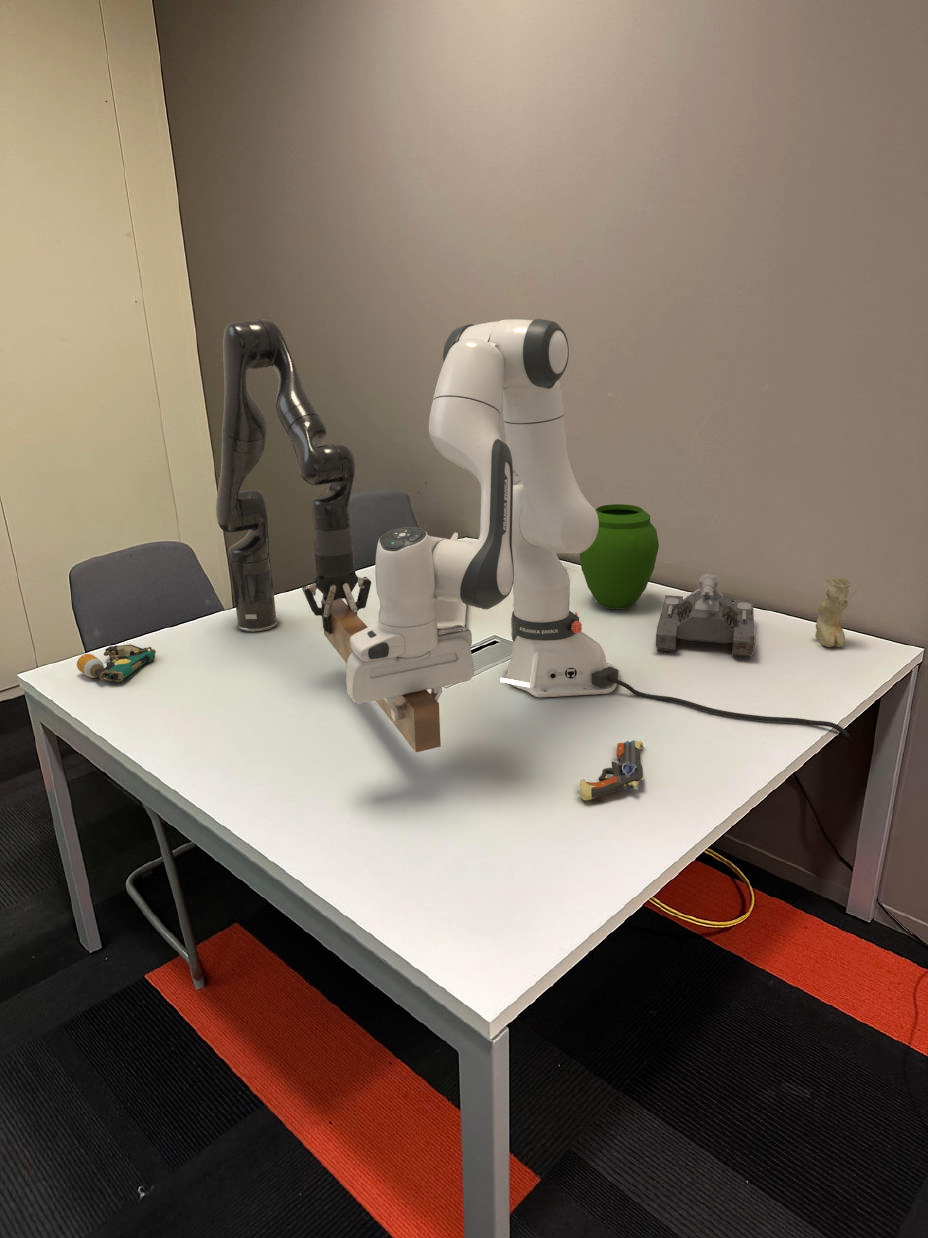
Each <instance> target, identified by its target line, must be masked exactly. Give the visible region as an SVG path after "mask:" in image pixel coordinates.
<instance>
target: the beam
mask: <svg viewBox="0 0 928 1238" xmlns="http://www.w3.org/2000/svg"><path fill="white" fill-rule="evenodd" d="M320 603H321V605H320V607H321V606H322V600H321V601H320ZM329 616H330V617H331V626H332V634H328V633H327V632H325V630H324V629H323V635H324V637H325V639H327V640H328V642H329V643H330V644H331V646H332V647H333V648H334V650H335V651H336V652H337V653H338V654H339V657H341V659H342V660H343V661H344V662H345V664H347V661H348V658H349V656H350V654H351V653H352V652H353V650H352V648H351V645H350V637H351V636H352V635H354V634H356V633H358V632H360V631H362V630H364V629H366V628H367V627H368V626H367V624H366V623H365V622H364V620H362V619H361V618H360V617H359V616H358V614H357V615H356V614H355V613H354V612H353V611H352V609H351V608H350V607H349V606H348V605H347V602H346V601H345V600H344V599H340V598H339V599H337V600H333V604H332V607H331V609H330V614H329ZM395 700H396V701H395V702H392V703H393V705H394V706H400V707H401V708H402V709H403V719H401V720H396V721H394V720H393V718H392V715H391V708H390V707H389V705H388V704H387V703H386V701H385V700H384V699H380V700H376V701H375V703H377V705H378V706H379V707H380V709H382V711H383V712H384V714H385V715H386V716H387V717H388V719H389V720H390V721H391V723H392V724H393V725H394V727H395V728H396V729H397V730H398V731H399V733H400V734H401V736H402V737H403V738H404V739H405V740H406V742H407V743H408V745H409V746H410V747H411V748H412V750H413V751H414V752H415V753H420V752H424V751H428V750H433V749H436V748H441V747H442V744H441V721H440V720H441V719H440V718H441V716H440V703H439V701H436V700H435V698H434V697H433V696H432V695H431V692H429V691H428V690H423V691H418V692H413V693H409V694H404V695H399V696H395Z"/></svg>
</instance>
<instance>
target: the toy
mask: <svg viewBox="0 0 928 1238" xmlns="http://www.w3.org/2000/svg"><path fill="white" fill-rule="evenodd" d="M698 585H699V588H697V589H695V590H694V591H692V592H691V593H690V594H689V595H688V596H686V597H685V598H684V596H683V595H671V594H665V595H664V598H663V599H664V600H663V602H662V607H661V610H660V615H659V619H658V623H657V626H656V627H657V628H656V632H655V633H656V634H655V648H656V651H658V652H670V653H671V652H672V653H675V652H676V648H677V642H678V639H679V640H683V641H689V642H690V641H692V642H702V643H717V644H729V643H732V646H731V647H732V648H731V649H732V650H731V651H732V652H731V656H733V657H745V658H751V656H753V653H754V648H755V640H756V639H755V637H756V636H755V635H756V634H755V615H754V614H755V613H754V612H755V611H754V601H753V600H743V599H734V600H733V601H732V600H731V599H730V598H729V597H728V596H727V595H726V594H725V593H723V592H721V591H719V590H718V589H717V587H718V585H719V579H718V577H717V576H716V574H713V573H705V574H703V575H702V576H701V577H700V578H699V581H698Z"/></svg>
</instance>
